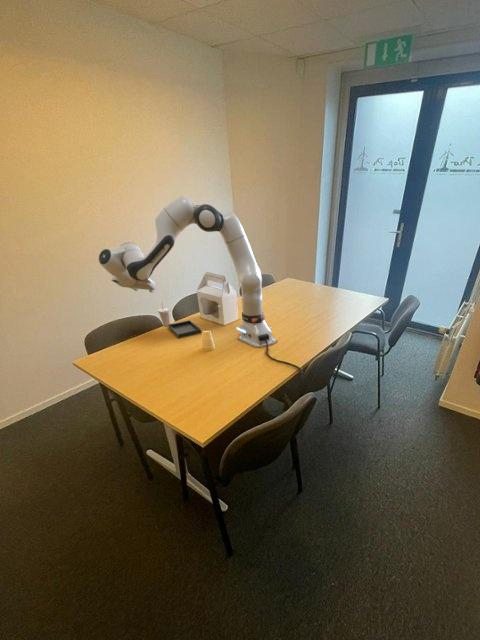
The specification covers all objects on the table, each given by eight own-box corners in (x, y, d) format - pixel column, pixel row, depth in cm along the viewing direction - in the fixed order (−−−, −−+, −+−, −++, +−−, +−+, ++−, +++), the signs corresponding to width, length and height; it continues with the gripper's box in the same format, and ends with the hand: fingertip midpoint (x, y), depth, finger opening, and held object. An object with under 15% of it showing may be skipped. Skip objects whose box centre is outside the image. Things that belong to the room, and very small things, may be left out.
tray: (201, 332, 175) (200, 329, 174) (178, 338, 168) (177, 334, 167) (190, 323, 186) (189, 320, 184) (168, 328, 179) (167, 324, 178)
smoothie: (167, 322, 187) (163, 300, 179) (174, 324, 184) (170, 302, 176) (159, 325, 182) (154, 302, 174) (165, 327, 179) (160, 305, 171)
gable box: (200, 317, 195) (193, 273, 179) (214, 311, 204) (210, 269, 188) (224, 325, 184) (220, 279, 169) (239, 319, 194) (236, 275, 178)
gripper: (148, 272, 144) (163, 287, 158) (111, 268, 148) (129, 283, 161) (144, 283, 143) (160, 297, 157) (108, 280, 147) (126, 294, 160)
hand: (144, 290), depth 159 cm, fingers open, 8 cm apart
